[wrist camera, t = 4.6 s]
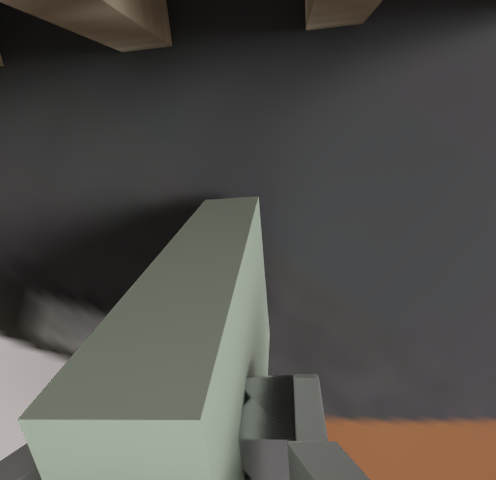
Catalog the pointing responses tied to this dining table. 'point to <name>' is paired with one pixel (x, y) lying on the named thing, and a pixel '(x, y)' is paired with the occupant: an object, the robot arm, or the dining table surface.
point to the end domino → (165, 363)
